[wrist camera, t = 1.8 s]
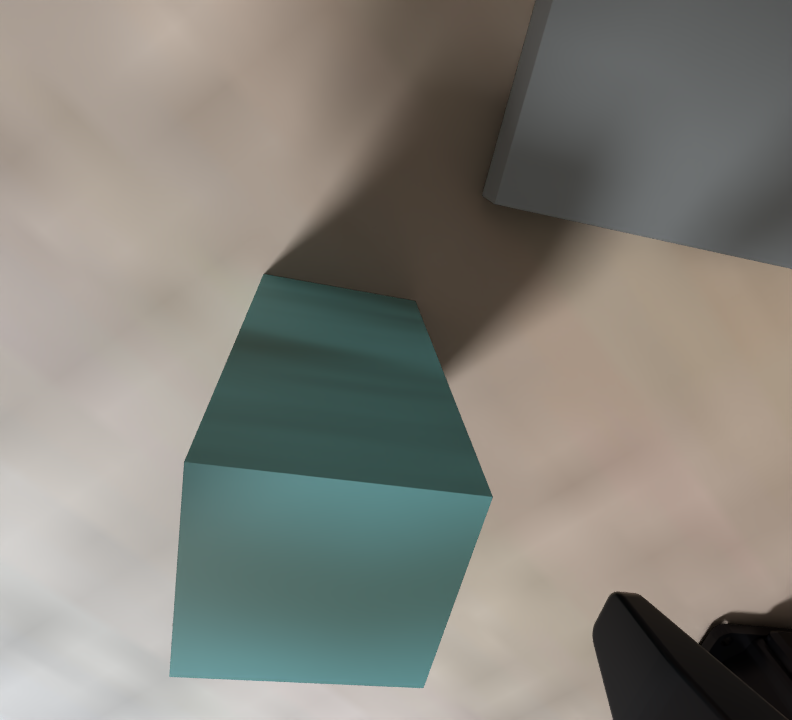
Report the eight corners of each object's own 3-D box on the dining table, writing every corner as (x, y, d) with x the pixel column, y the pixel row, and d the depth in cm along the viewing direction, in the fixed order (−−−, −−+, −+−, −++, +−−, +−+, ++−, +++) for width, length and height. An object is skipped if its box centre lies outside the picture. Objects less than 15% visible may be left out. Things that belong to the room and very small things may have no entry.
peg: (384, 426, 16) (423, 688, 9) (247, 408, 15) (169, 677, 8) (415, 301, 14) (492, 496, 7) (263, 274, 14) (184, 461, 7)
